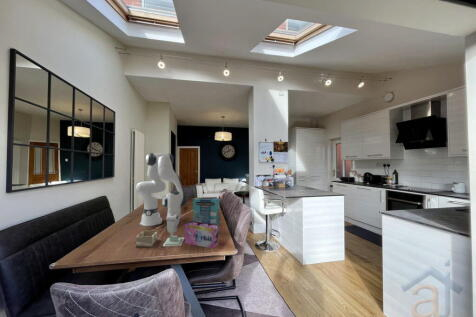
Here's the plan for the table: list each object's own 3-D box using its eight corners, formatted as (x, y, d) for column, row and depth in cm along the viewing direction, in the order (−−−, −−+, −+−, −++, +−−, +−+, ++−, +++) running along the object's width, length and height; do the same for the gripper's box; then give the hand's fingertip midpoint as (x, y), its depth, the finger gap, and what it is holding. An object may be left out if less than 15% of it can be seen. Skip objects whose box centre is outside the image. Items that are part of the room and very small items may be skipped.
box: (142, 240, 139) (143, 230, 139) (157, 239, 140) (157, 230, 140) (135, 247, 127) (136, 236, 128) (151, 246, 128) (151, 236, 128)
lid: (169, 239, 140) (169, 233, 140) (181, 238, 141) (181, 233, 141) (165, 245, 130) (165, 239, 130) (178, 244, 131) (178, 239, 131)
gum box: (220, 244, 133) (220, 224, 133) (214, 249, 126) (214, 228, 126) (191, 239, 142) (191, 220, 142) (184, 243, 134) (184, 223, 135)
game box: (219, 231, 159) (219, 198, 159) (217, 234, 152) (218, 199, 153) (194, 230, 161) (195, 197, 161) (192, 233, 154) (192, 199, 155)
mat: (168, 238, 143) (168, 237, 143) (184, 238, 144) (184, 237, 144) (162, 246, 129) (162, 245, 129) (180, 245, 130) (180, 245, 130)
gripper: (173, 210, 146) (172, 228, 146) (165, 218, 126) (164, 239, 126) (181, 210, 147) (181, 228, 147) (175, 218, 127) (174, 239, 126)
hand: (173, 234), depth 136 cm, fingers open, 8 cm apart
